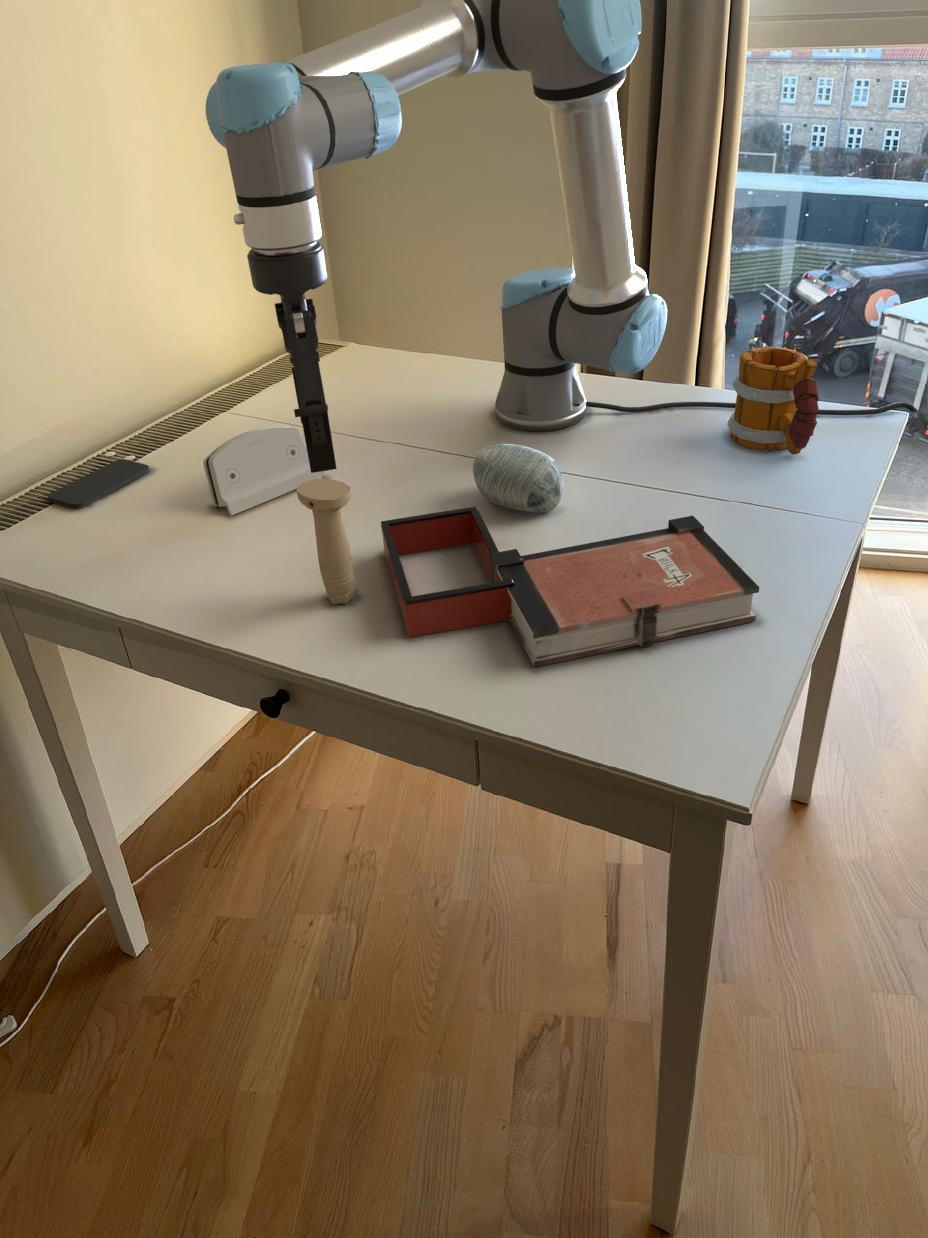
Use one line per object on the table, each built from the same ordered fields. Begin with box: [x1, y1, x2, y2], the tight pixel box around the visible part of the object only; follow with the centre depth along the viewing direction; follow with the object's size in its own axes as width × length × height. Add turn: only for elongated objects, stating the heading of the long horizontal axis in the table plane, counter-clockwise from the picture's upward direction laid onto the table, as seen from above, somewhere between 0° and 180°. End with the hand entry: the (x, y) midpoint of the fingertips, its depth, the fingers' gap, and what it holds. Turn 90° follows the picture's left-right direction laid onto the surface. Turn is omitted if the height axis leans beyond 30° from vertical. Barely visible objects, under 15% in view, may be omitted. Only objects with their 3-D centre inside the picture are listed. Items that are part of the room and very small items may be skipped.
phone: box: [47, 458, 151, 509], centre depth 149 cm, size 7×1×15 cm
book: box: [490, 515, 760, 668], centre depth 111 cm, size 26×18×5 cm
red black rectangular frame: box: [380, 505, 514, 638], centre depth 117 cm, size 13×20×5 cm, turn 12°
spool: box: [472, 443, 564, 514], centre depth 133 cm, size 14×10×10 cm
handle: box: [296, 478, 355, 605], centre depth 113 cm, size 5×6×15 cm
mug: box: [726, 346, 820, 455], centre depth 142 cm, size 11×16×15 cm, turn 18°
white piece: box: [202, 425, 323, 516], centre depth 142 cm, size 17×5×10 cm, turn 132°
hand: (317, 444), depth 106 cm, fingers open, 13 cm apart
